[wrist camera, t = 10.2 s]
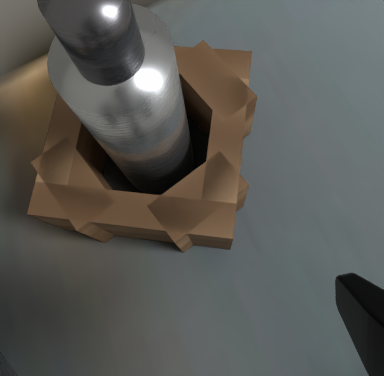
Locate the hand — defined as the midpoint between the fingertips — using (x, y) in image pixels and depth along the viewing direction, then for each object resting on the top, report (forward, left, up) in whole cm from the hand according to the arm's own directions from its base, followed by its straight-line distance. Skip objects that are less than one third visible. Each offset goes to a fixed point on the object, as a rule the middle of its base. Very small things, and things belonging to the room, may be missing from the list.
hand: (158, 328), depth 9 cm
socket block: (+8, +3, -10) cm, 13 cm away
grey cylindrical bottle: (+8, +3, -10) cm, 13 cm away
